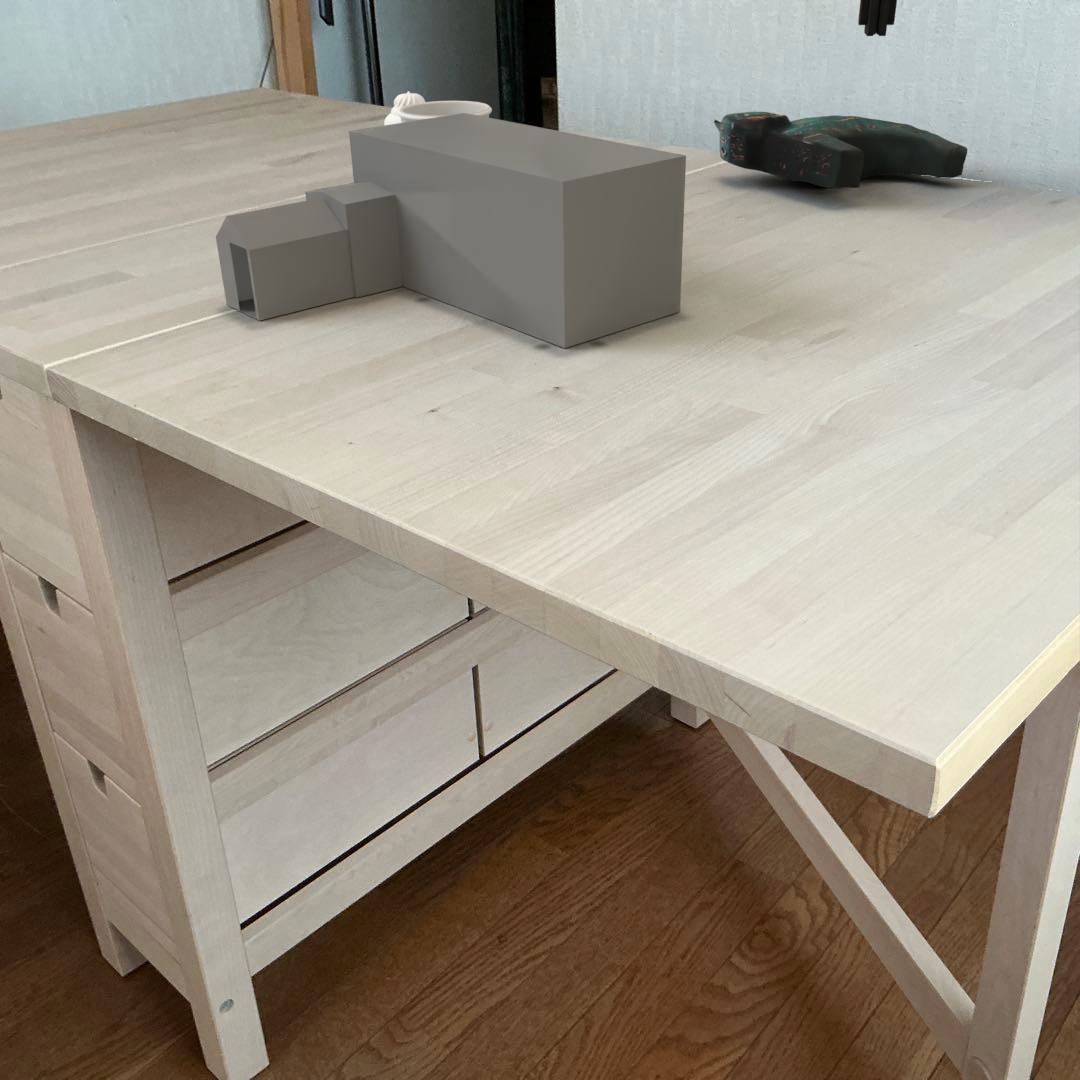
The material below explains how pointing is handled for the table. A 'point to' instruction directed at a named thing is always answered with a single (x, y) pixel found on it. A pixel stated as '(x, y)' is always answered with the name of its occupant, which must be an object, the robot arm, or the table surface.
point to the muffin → (401, 102)
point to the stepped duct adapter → (476, 229)
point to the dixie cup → (442, 109)
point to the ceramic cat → (835, 148)
